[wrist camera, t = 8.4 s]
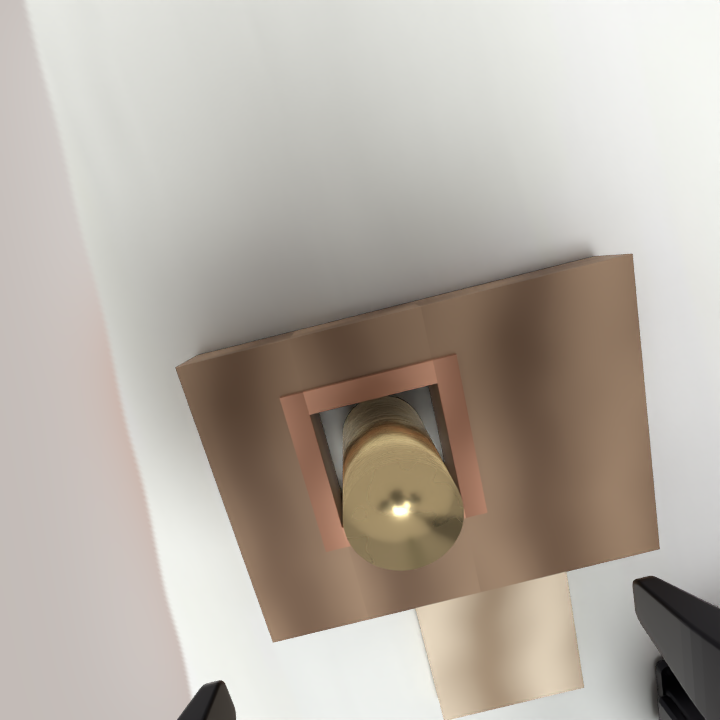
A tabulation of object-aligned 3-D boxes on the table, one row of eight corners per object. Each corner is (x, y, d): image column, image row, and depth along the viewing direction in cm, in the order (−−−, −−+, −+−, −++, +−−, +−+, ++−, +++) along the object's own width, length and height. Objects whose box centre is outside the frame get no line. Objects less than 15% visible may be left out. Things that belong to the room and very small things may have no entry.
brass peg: (413, 387, 20) (452, 448, 13) (429, 460, 21) (473, 555, 14) (333, 406, 20) (329, 478, 13) (353, 479, 21) (358, 582, 14)
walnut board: (594, 256, 19) (635, 253, 16) (638, 651, 24) (676, 698, 21) (196, 355, 19) (173, 368, 16) (323, 726, 24) (321, 783, 21)
